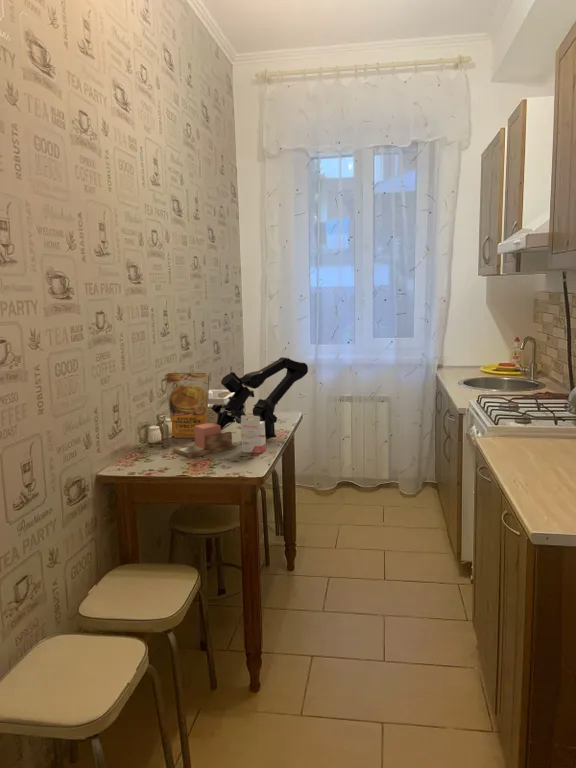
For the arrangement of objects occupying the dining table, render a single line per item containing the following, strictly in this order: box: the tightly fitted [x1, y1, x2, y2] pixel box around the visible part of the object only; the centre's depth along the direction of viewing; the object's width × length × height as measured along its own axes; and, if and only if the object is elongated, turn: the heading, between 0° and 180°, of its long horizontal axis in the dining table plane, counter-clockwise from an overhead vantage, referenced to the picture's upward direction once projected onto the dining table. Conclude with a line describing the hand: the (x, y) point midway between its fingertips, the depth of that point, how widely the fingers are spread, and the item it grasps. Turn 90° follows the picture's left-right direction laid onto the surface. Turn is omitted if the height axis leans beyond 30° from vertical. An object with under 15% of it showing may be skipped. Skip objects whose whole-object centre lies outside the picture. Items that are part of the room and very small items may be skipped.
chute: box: [172, 431, 235, 459], centre depth 237 cm, size 20×14×6 cm
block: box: [194, 423, 222, 449], centre depth 238 cm, size 8×7×8 cm
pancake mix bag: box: [164, 372, 210, 439], centre depth 257 cm, size 7×19×28 cm, turn 81°
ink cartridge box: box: [240, 415, 267, 454], centre depth 231 cm, size 9×5×15 cm, turn 70°
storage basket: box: [207, 389, 235, 429], centre depth 281 cm, size 24×16×15 cm
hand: (217, 430), depth 240 cm, fingers closed, pressing on block
